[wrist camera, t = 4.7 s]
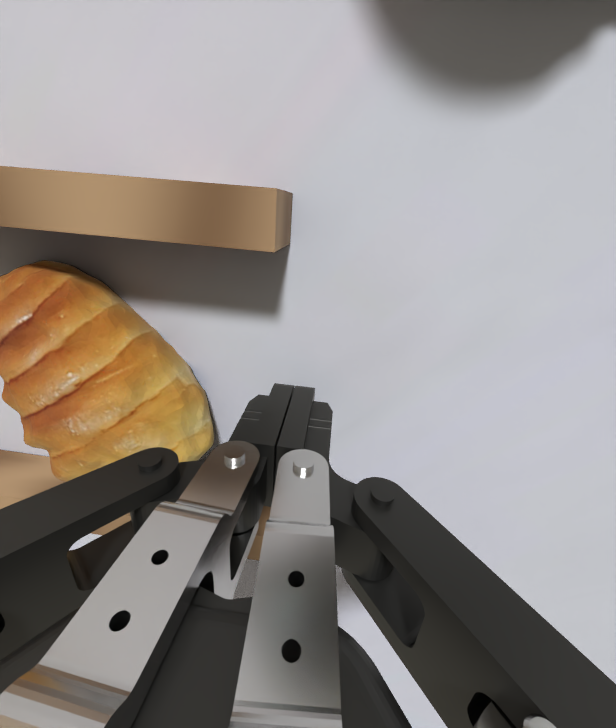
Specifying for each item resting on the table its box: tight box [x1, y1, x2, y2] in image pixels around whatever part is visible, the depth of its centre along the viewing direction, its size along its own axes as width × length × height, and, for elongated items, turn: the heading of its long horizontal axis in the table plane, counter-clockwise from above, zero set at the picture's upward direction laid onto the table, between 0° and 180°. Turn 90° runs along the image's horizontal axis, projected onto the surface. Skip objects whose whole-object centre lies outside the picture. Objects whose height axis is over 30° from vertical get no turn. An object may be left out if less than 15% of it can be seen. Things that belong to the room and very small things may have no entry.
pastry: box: [0, 260, 214, 481], centre depth 13 cm, size 9×7×4 cm
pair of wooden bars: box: [0, 166, 293, 560], centre depth 12 cm, size 16×14×4 cm
